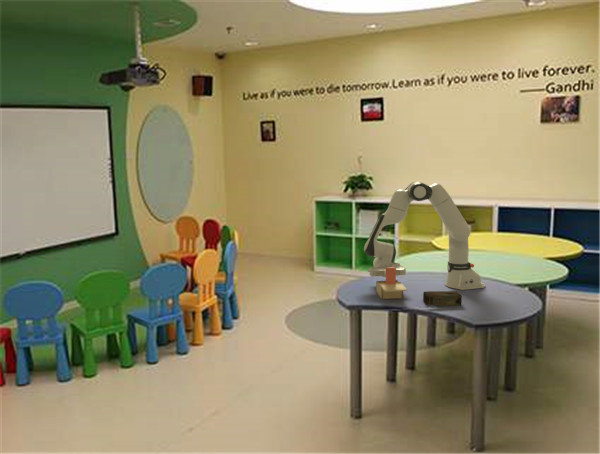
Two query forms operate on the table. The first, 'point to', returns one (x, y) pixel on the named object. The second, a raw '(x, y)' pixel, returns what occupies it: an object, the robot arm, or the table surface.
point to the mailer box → (387, 294)
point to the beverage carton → (442, 298)
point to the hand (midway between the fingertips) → (390, 275)
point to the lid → (392, 281)
